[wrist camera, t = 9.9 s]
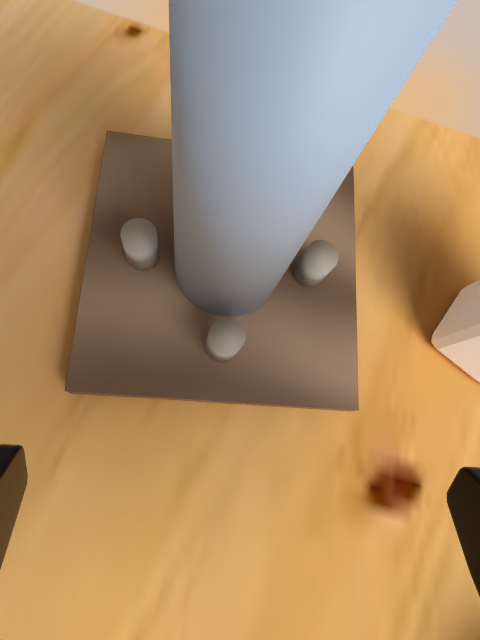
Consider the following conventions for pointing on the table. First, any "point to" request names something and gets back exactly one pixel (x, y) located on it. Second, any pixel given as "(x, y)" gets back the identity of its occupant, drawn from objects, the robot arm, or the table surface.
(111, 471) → the table surface
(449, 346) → the white plastic bottle
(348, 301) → the brown pegged base plate
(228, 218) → the pepper mill
